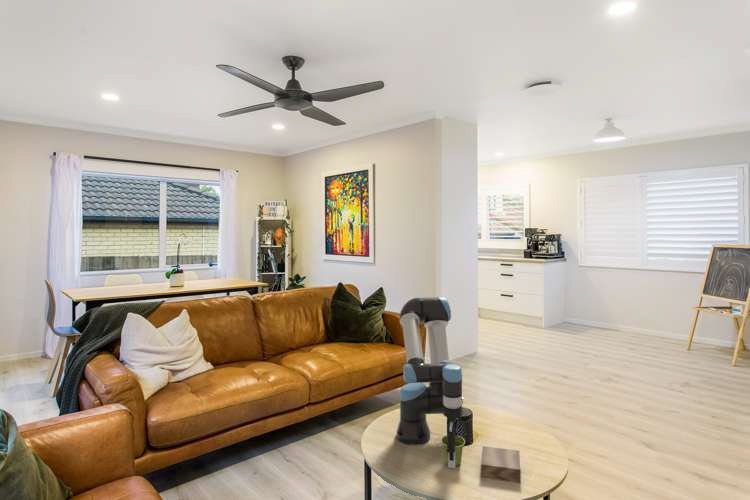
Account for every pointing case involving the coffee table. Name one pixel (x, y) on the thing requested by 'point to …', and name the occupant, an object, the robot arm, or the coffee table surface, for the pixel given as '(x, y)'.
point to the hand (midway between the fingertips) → (453, 461)
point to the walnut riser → (500, 464)
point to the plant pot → (458, 448)
